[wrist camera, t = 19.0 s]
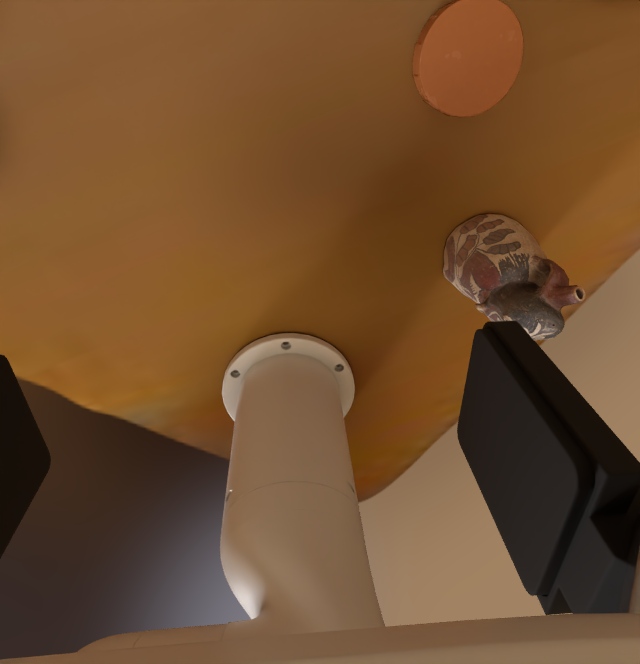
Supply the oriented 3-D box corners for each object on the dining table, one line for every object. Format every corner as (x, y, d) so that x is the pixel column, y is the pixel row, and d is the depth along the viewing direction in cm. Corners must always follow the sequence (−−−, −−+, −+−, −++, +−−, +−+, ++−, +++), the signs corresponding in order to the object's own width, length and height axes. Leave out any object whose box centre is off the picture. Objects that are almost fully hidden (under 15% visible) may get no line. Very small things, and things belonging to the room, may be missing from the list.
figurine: (423, 259, 39) (473, 333, 29) (488, 193, 37) (568, 249, 26) (477, 305, 42) (540, 388, 32) (541, 246, 39) (632, 316, 29)
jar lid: (452, -26, 29) (462, -30, 28) (531, 35, 31) (545, 34, 30) (393, 82, 32) (399, 84, 31) (470, 131, 34) (479, 135, 33)
